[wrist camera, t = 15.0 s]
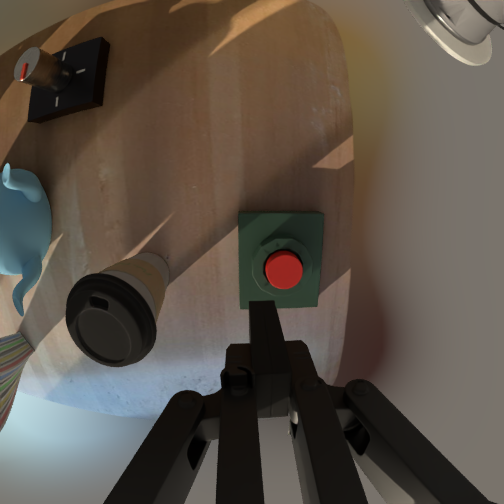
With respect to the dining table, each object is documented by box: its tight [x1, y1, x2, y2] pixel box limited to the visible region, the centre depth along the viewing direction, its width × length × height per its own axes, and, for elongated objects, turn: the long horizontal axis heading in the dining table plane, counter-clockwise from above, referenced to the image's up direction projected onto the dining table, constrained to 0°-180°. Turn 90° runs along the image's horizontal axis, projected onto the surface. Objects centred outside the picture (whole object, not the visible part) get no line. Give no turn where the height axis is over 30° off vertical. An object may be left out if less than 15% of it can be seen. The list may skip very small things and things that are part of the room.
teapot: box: [0, 163, 52, 316], centre depth 26 cm, size 17×19×12 cm
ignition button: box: [265, 251, 303, 289], centre depth 31 cm, size 4×4×2 cm
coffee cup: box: [66, 253, 169, 367], centre depth 28 cm, size 9×9×15 cm
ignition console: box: [238, 211, 324, 309], centre depth 33 cm, size 10×12×4 cm
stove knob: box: [14, 47, 73, 93], centre depth 20 cm, size 4×4×8 cm
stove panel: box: [28, 37, 110, 123], centre depth 26 cm, size 12×10×3 cm
